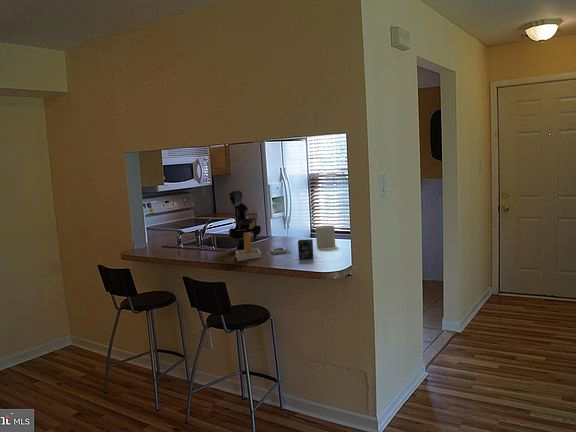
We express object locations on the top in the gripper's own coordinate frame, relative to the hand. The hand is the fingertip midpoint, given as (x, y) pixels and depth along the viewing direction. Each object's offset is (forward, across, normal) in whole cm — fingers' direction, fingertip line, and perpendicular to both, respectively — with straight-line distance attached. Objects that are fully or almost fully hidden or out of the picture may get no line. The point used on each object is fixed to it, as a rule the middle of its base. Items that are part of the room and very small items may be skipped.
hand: (247, 242), depth 299 cm
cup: (+1, +52, +13) cm, 54 cm away
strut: (+5, 0, +7) cm, 9 cm away
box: (+21, +29, -7) cm, 36 cm away
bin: (+6, 0, +8) cm, 10 cm away
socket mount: (+6, +19, +8) cm, 21 cm away
